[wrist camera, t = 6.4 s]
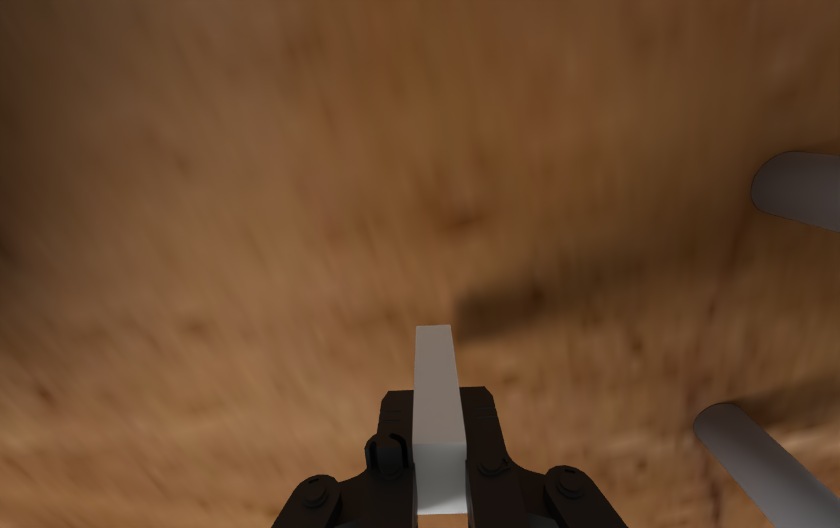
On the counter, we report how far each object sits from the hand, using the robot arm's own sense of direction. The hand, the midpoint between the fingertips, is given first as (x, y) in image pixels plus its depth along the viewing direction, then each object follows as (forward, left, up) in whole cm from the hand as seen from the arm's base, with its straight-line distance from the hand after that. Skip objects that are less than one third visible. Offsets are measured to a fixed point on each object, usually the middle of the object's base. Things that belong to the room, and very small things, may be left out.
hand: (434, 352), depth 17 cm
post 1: (+15, -6, -2) cm, 16 cm away
